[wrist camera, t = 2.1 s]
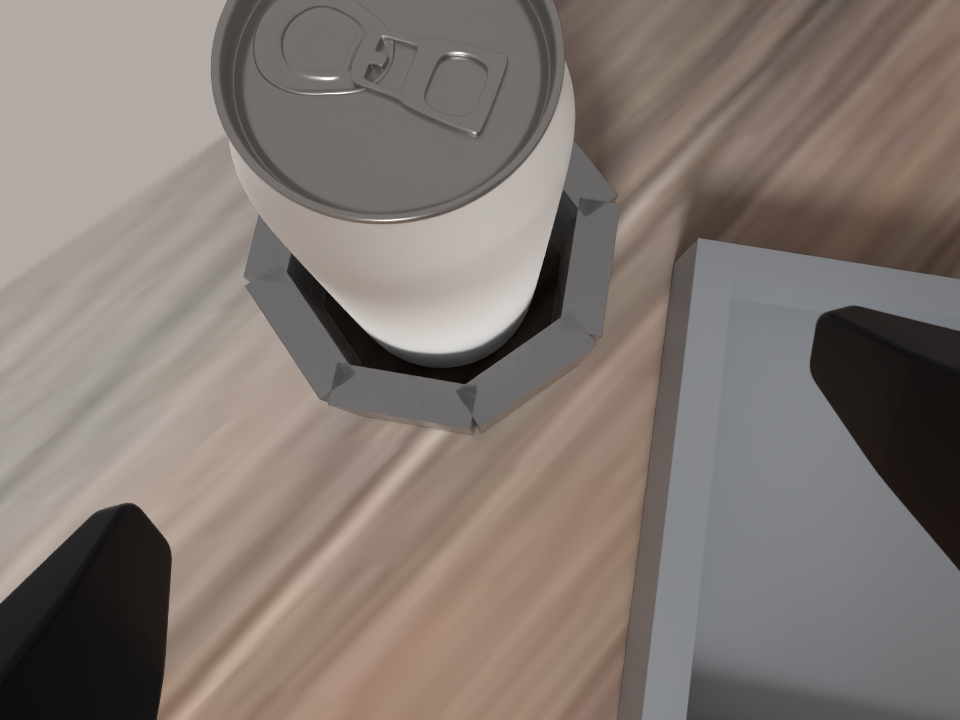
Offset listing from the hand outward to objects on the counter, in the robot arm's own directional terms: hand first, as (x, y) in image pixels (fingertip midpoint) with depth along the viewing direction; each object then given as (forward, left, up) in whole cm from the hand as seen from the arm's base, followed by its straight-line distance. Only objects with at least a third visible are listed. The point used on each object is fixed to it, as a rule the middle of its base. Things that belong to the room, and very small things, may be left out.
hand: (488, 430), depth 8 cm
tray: (0, -13, -13) cm, 18 cm away
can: (+6, +3, -13) cm, 14 cm away
